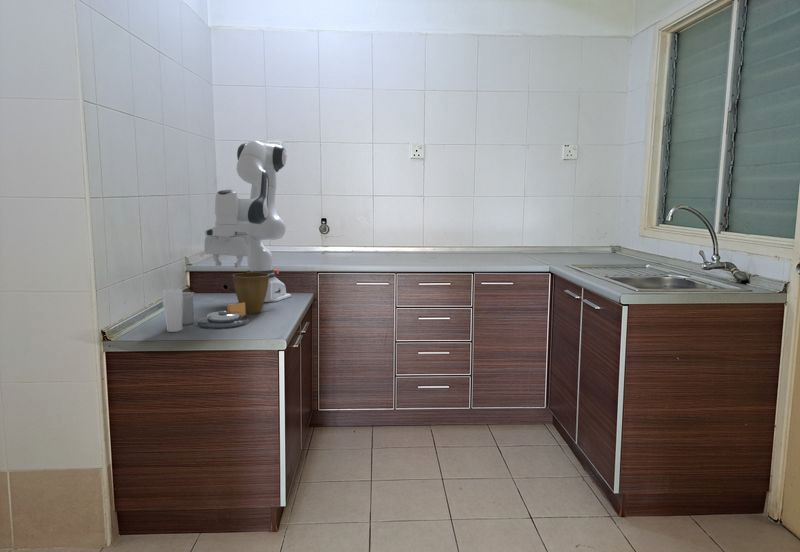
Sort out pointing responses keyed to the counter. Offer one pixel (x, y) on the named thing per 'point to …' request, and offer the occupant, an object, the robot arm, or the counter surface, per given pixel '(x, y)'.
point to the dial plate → (212, 325)
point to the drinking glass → (173, 309)
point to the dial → (228, 313)
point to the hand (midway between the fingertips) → (228, 266)
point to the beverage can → (187, 309)
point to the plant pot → (251, 290)
